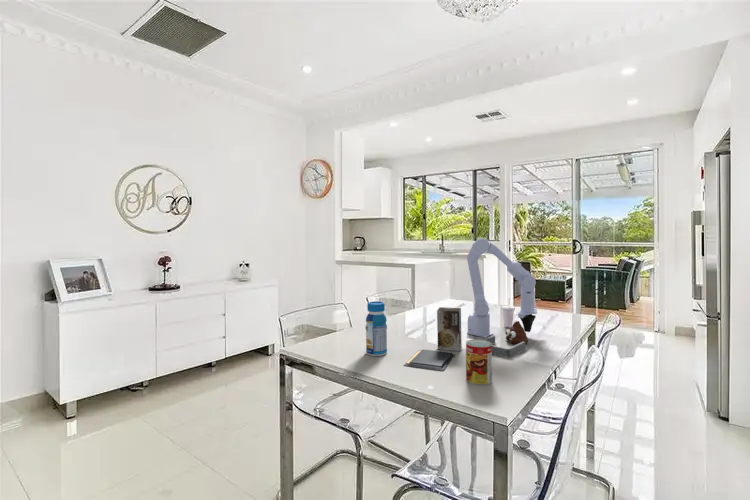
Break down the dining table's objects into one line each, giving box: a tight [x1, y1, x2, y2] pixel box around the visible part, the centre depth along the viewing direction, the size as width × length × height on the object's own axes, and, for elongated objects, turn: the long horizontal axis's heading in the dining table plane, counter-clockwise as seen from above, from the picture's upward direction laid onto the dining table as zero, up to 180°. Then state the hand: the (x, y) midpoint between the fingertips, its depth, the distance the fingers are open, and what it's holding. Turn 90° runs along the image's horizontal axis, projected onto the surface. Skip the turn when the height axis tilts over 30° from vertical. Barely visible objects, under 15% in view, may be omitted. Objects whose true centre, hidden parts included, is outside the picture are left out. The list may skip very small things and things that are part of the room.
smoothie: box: [500, 297, 515, 328], centre depth 189 cm, size 6×6×14 cm
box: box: [482, 335, 526, 359], centre depth 153 cm, size 14×14×3 cm
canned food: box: [465, 339, 493, 386], centre depth 121 cm, size 8×8×12 cm
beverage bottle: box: [365, 300, 388, 357], centre depth 150 cm, size 8×8×20 cm
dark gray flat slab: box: [403, 349, 456, 372], centre depth 141 cm, size 20×2×15 cm
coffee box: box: [436, 306, 463, 352], centre depth 155 cm, size 9×6×16 cm
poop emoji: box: [504, 320, 530, 346], centre depth 162 cm, size 10×8×9 cm
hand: (527, 331), depth 170 cm, fingers closed
